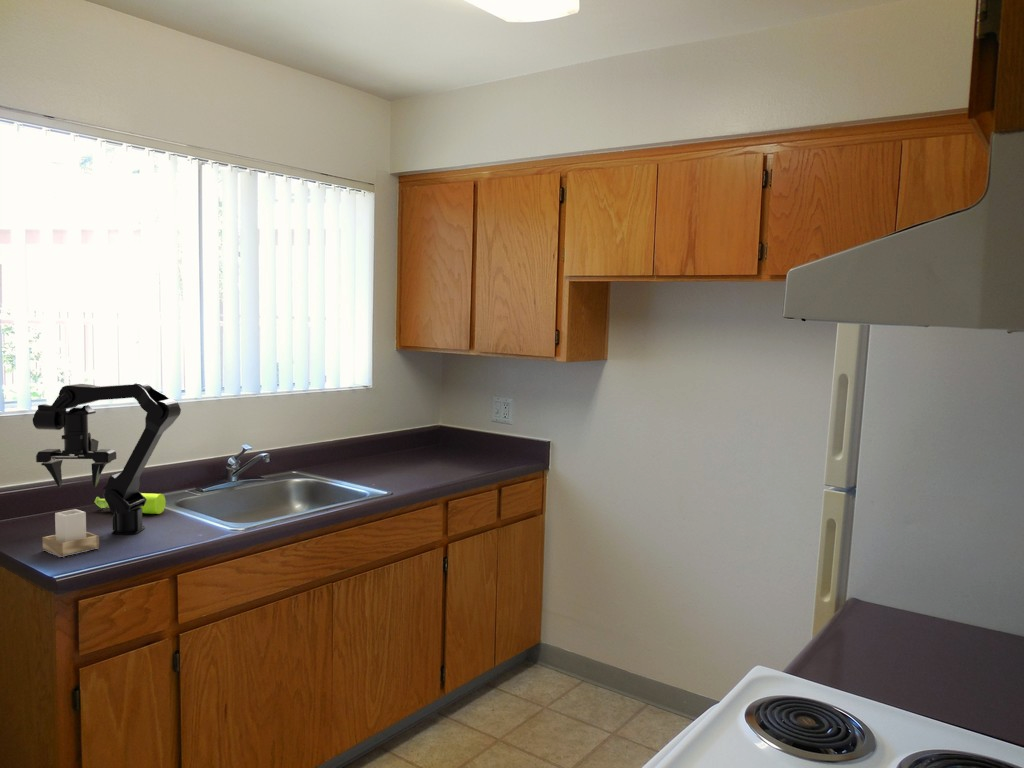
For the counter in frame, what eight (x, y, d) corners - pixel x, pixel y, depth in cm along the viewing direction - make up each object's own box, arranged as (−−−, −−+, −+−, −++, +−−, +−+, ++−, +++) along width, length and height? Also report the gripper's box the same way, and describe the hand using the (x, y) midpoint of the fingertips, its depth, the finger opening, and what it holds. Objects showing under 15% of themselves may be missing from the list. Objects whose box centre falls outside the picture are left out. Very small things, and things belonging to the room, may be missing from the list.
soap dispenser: (169, 500, 232) (107, 498, 233) (159, 490, 226) (95, 488, 228) (162, 518, 228) (100, 515, 230) (152, 508, 223) (88, 506, 224)
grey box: (76, 543, 193) (75, 509, 193) (86, 547, 190) (85, 512, 190) (56, 548, 189) (54, 512, 188) (65, 551, 186) (64, 516, 186)
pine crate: (81, 542, 196) (80, 529, 196) (99, 549, 191) (98, 535, 191) (42, 551, 189) (42, 537, 188) (60, 558, 183) (59, 544, 183)
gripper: (124, 426, 215) (125, 480, 216) (55, 426, 213) (56, 480, 214) (106, 432, 204) (108, 489, 205) (33, 431, 202) (35, 489, 203)
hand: (77, 486), depth 207 cm, fingers open, 9 cm apart
